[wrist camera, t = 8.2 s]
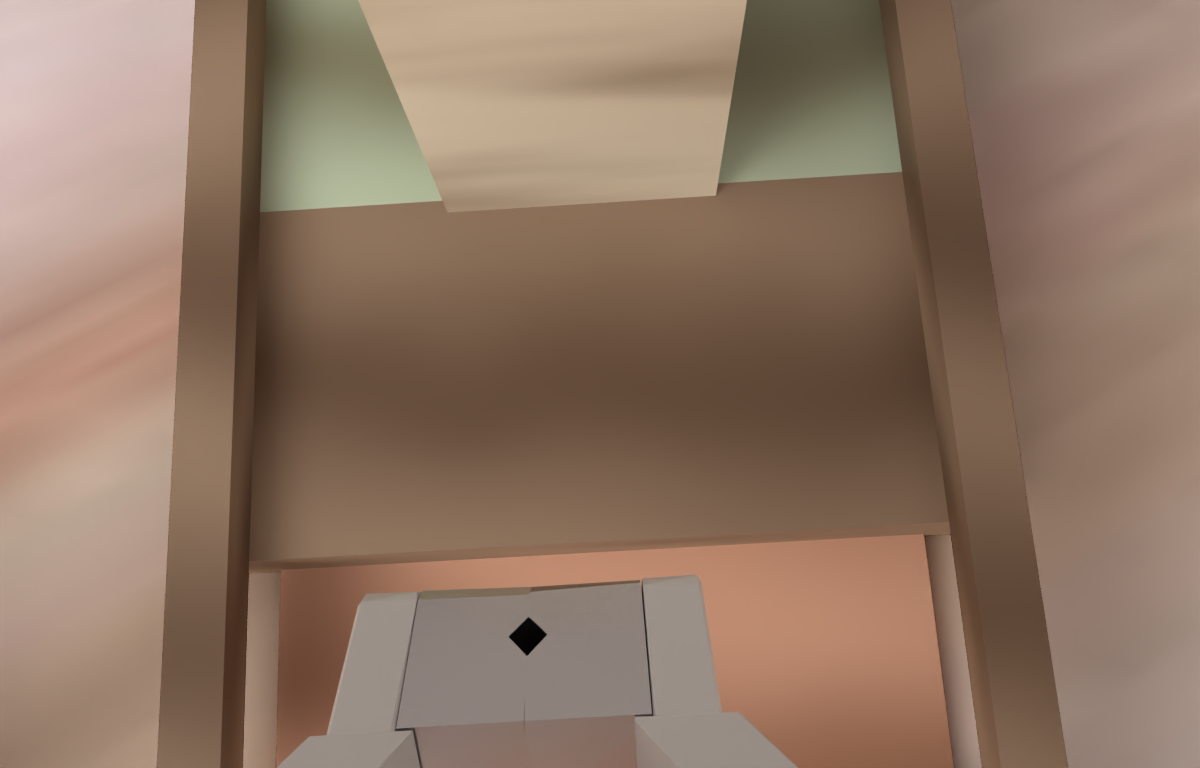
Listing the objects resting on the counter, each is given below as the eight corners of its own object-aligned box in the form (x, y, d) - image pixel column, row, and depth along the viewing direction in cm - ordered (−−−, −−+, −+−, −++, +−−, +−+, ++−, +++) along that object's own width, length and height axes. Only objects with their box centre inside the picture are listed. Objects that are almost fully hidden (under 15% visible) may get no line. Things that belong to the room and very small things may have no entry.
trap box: (255, -60, 24) (134, -289, 18) (884, -103, 24) (962, -349, 18) (197, 1633, 17) (-41, 2150, 11) (1122, 1601, 16) (1388, 2114, 10)
